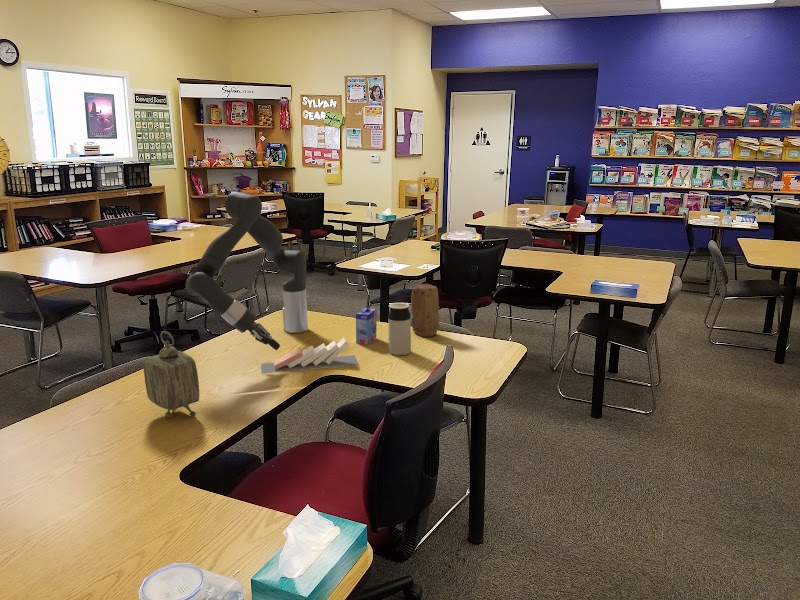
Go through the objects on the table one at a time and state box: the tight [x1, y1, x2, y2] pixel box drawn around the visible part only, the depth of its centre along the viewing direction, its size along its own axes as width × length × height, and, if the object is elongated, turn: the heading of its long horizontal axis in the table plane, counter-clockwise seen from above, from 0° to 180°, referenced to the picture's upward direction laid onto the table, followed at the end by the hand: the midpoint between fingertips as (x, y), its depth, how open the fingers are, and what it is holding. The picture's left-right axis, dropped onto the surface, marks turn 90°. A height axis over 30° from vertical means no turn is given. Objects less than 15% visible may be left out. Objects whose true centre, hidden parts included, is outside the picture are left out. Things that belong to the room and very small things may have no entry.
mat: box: [260, 354, 360, 375], centre depth 216 cm, size 33×10×1 cm, turn 103°
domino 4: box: [313, 340, 339, 365], centre depth 217 cm, size 2×5×10 cm
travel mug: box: [388, 302, 412, 356], centre depth 226 cm, size 8×8×18 cm
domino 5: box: [325, 337, 350, 365], centre depth 217 cm, size 2×5×10 cm
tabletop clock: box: [143, 330, 200, 419], centre depth 176 cm, size 14×9×25 cm, turn 48°
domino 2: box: [288, 345, 316, 368], centre depth 215 cm, size 2×5×10 cm
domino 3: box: [300, 342, 328, 367], centre depth 216 cm, size 2×5×10 cm
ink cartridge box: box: [355, 304, 378, 345], centre depth 240 cm, size 10×6×14 cm, turn 163°
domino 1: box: [273, 347, 303, 370], centre depth 214 cm, size 2×5×10 cm
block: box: [410, 283, 440, 338], centre depth 247 cm, size 11×8×20 cm
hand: (278, 347), depth 212 cm, fingers closed
